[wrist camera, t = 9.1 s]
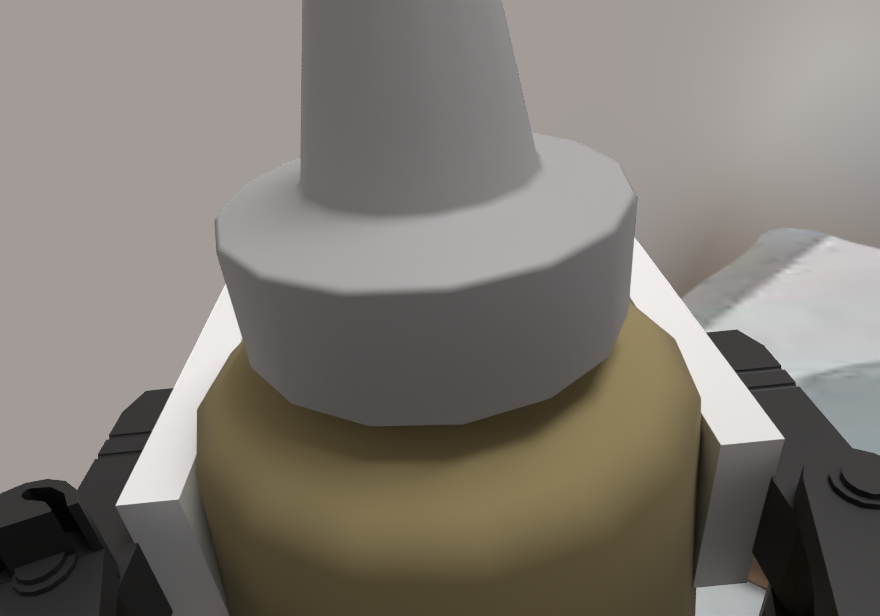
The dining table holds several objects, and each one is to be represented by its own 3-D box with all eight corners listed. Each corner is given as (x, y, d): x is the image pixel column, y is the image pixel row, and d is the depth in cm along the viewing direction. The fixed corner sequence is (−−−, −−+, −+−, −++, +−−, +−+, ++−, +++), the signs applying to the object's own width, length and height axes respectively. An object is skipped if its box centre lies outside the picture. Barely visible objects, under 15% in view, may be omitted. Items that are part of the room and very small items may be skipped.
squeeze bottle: (757, 851, 13) (1299, -401, 4) (411, 1188, 10) (-1959, -1474, 1) (523, 566, 19) (502, -171, 10) (265, 718, 16) (-126, -148, 7)
